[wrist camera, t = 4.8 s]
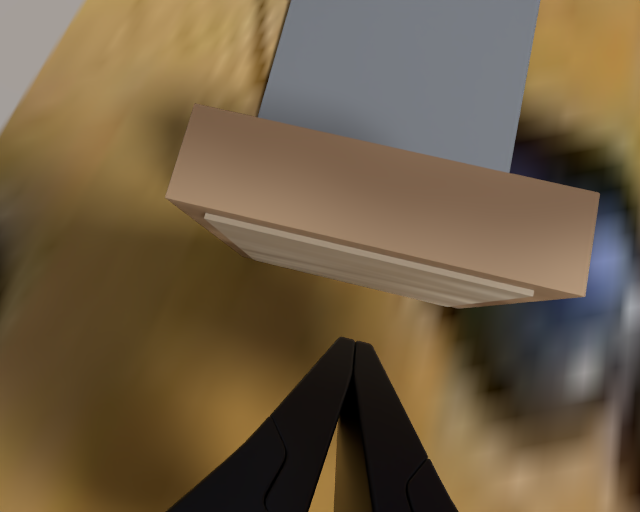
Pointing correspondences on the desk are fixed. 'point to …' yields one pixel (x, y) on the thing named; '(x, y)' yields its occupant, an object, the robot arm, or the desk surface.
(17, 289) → the desk surface
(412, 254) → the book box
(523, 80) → the grey square plate
